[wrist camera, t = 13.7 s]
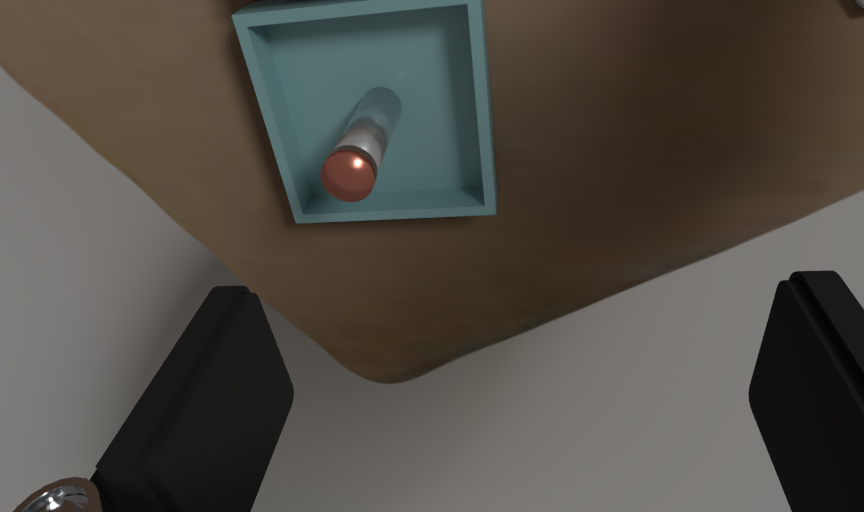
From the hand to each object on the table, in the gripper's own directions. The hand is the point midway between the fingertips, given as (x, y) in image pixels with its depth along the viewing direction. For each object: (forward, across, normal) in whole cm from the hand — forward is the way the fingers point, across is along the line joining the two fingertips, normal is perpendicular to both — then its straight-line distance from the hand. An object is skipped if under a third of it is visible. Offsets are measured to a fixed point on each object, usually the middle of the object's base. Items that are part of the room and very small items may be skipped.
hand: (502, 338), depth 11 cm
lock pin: (+33, +10, +8) cm, 35 cm away
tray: (+33, +10, +8) cm, 36 cm away
